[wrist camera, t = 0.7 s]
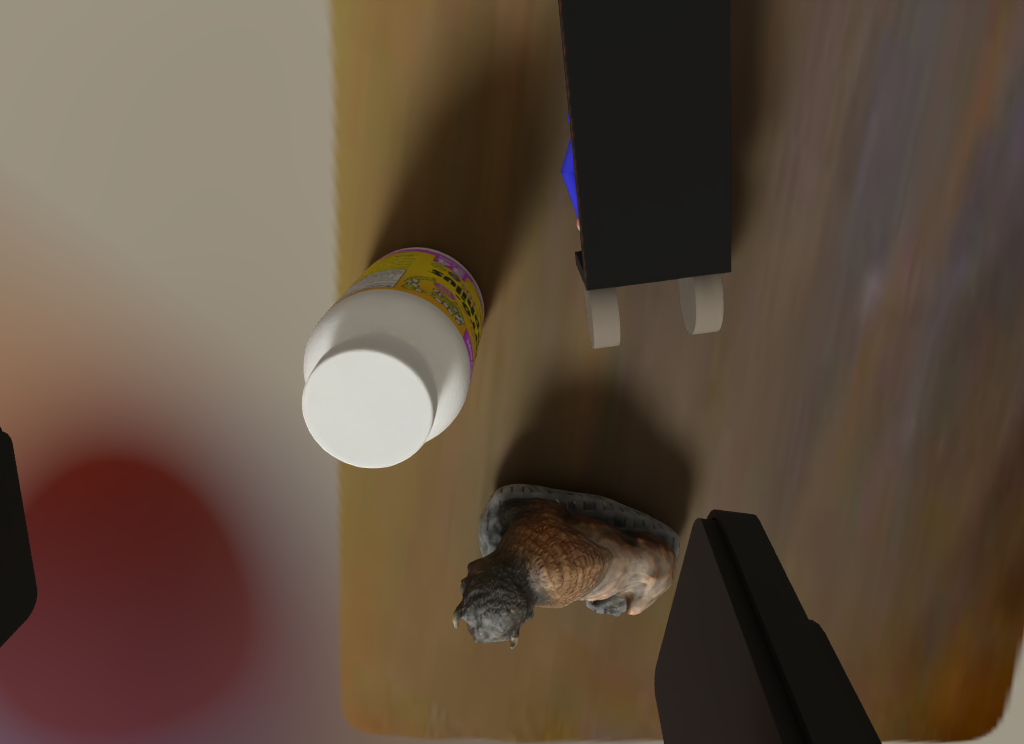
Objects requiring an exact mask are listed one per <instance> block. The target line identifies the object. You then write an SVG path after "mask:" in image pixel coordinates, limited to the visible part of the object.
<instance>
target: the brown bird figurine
mask: <svg viewBox="0 0 1024 744" xmlns="http://www.w3.org/2000/svg"><path fill="white" fill-rule="evenodd" d="M478 538H479V543H480V549H481V553H482V556H483V558H480V559H477V560H475V561H473V562H471V563H469V565H468V576H467V577H466V578H464V579H462V580H461V583H462V585H461V588H460V590H461V592H462V594H463V599H462V601H461V603H460V604H459V605H458V606H457V608H456V610H455V611H454V613H453V623H454V626H455V628H458V624H459V621H460V619H464V620H465V621H466V622H467V626H468V631H469V633H470V634H471V635H472V636H473V637H474V642H475V643H478V642H482V643H484V644H489V643H497V642H501V641H505V640H510V642H511V648H514V647H515V646H516V645H517V643H518V640H519V629H520V627H521V626H522V625H523V623H524V622H525V620H530V619H531V618H532V617H533V608H534V606H535V607H544V608H560V607H564V606H567V605H569V604H570V603H572V602H575V601H577V600H586V605H587V607H588V608H590V609H592V610H593V611H594V612H596V613H602V614H610V615H612V616H614V617H617V616H620V615H621V614H623V613H624V612H626V611H627V613H628V614H630V615H636V614H639V613H641V612H642V611H643V610H646V609H647V608H649V607H650V605H651V604H652V603H654V602H655V601H656V600H657V599H658V598H659V597H660V596H661V595H662V594H663V593H664V592H665V591H666V590H667V589H668V588H669V587H670V586H671V584H672V582H673V579H674V576H675V564H676V562H677V559H678V555H679V546H680V543H679V537H678V535H677V533H676V532H675V531H674V530H673V529H671V528H670V527H668V526H667V525H665V524H664V523H662V522H660V521H658V520H656V519H654V518H653V517H651V516H649V515H647V514H645V513H643V512H641V511H638V510H636V509H633V508H631V507H628V506H625V505H623V504H620V503H618V502H616V501H614V500H612V499H609V498H606V497H603V496H599V495H594V494H588V493H577V492H570V491H565V490H559V489H552V488H547V487H543V486H538V485H529V484H511V485H507V486H503V487H501V488H499V489H497V490H496V491H495V492H494V493H493V494H492V496H491V498H490V499H489V501H488V503H487V504H486V506H485V508H484V509H483V512H482V514H481V517H480V520H479V531H478Z"/></svg>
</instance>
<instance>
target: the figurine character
mask: <svg viewBox="0 0 1024 744" xmlns="http://www.w3.org/2000/svg"><path fill="white" fill-rule="evenodd" d="M558 4H559V15H560V26H561V36H562V47H563V58H564V68H565V79H566V90H567V100H568V111H569V113H568V122H569V124H570V132H571V139H570V142H569V146H568V149H567V152H566V156H565V159H564V162H563V166H562V169H561V173H562V176H563V178H564V181H565V184H566V187H567V189H568V192H569V195H570V198H571V201H572V203H573V206H574V209H575V212H576V215H577V217H578V219H577V227H578V229H579V231H580V238H581V249H582V251H578V252H575V257H576V265H577V267H578V270H579V272H580V275H581V277H582V280H583V282H584V294H585V304H586V313H587V321H588V328H589V334H590V339H591V344H592V347H593V349H595V348H603V347H611V346H619V344H620V320H619V309H618V300H617V293H616V287H620V286H627V285H635V284H643V283H650V282H658V281H666V280H673V279H679V295H680V304H681V310H682V315H683V319H684V323H685V326H686V329H687V331H688V333H689V334H691V335H692V334H700V333H708V332H716V331H719V330H720V328H721V325H722V320H723V289H722V281H721V275H720V273H727V272H731V124H730V0H558Z"/></svg>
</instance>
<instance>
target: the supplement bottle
mask: <svg viewBox="0 0 1024 744" xmlns="http://www.w3.org/2000/svg"><path fill="white" fill-rule="evenodd" d="M483 323H484V303H483V298H482V295H481V292H480V289H479V287H478V285H477V283H476V281H475V280H474V278H473V277H472V275H471V274H470V273H469V272H468V270H467V269H466V268H465V267H464V266H463V265H462V264H460V263H459V262H458V261H457V260H455V259H453V258H452V257H450V256H449V255H447V254H444V253H442V252H440V251H436V250H433V249H429V248H420V247H412V248H404V249H400V250H396V251H394V252H391V253H389V254H387V255H385V256H383V257H382V258H380V259H379V260H377V261H376V262H375V263H373V264H372V265H371V266H370V267H369V268H368V269H367V270H366V271H365V272H364V273H363V274H362V275H361V276H360V277H359V279H358V280H357V281H356V282H355V283H354V284H353V285H352V286H351V287H350V288H349V289H348V290H347V292H346V293H345V294H344V295H343V296H342V297H341V298H340V299H339V300H338V301H337V302H336V303H335V304H334V305H333V306H332V307H331V308H330V309H329V310H328V312H327V313H326V314H325V315H324V316H323V317H322V318H321V320H320V321H319V322H318V323H317V325H316V326H315V328H314V330H313V332H312V334H311V336H310V338H309V340H308V343H307V346H306V351H305V357H304V377H305V382H306V384H305V387H304V391H303V397H302V409H303V416H304V419H305V421H306V424H307V427H308V429H309V431H310V433H311V434H312V436H313V437H314V439H315V440H316V441H317V443H318V444H319V445H320V446H321V447H322V448H323V449H324V450H325V451H327V452H328V453H329V454H330V455H332V456H334V457H335V458H337V459H339V460H341V461H343V462H345V463H348V464H351V465H354V466H357V467H364V468H382V467H388V466H392V465H395V464H397V463H400V462H402V461H404V460H406V459H408V458H409V457H411V456H412V455H413V454H414V453H416V452H417V451H418V450H419V449H420V448H421V446H422V445H423V444H424V443H425V442H427V441H429V440H430V439H432V438H434V437H435V436H437V435H439V434H440V433H441V432H442V431H444V430H445V429H446V428H447V427H448V426H449V425H450V424H451V423H452V421H453V420H454V419H455V418H456V416H457V415H458V413H459V412H460V410H461V408H462V406H463V404H464V402H465V399H466V396H467V393H468V389H469V385H470V380H471V376H472V371H473V367H474V363H475V359H476V355H477V350H478V346H479V342H480V337H481V333H482V329H483Z"/></svg>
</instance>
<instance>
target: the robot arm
mask: <svg viewBox="0 0 1024 744" xmlns="http://www.w3.org/2000/svg"><path fill="white" fill-rule="evenodd" d="M36 599H37V587H36V580H35V574H34V568H33V562H32V556H31V550H30V544H29V538H28V532H27V526H26V520H25V514H24V508H23V502H22V497H21V491H20V486H19V479H18V473H17V467H16V461H15V455H14V449H13V444H12V440H11V438H10V437H9V435H8V434H7V433H5V432H2V429H1V427H0V647H1V646H2V645H3V644H4V643H5V642H6V641H7V640H8V639H9V638H10V637H11V636H12V635H13V633H14V632H15V631H16V630H17V629H18V628H19V627H20V626H21V625H22V624H23V623H24V622H25V621H26V620H27V618H28V617H29V616H30V614H31V612H32V611H33V609H34V606H35V603H36ZM654 685H655V697H656V702H657V707H658V713H659V718H660V723H661V729H662V734H663V740H664V744H882V743H881V741H880V739H879V737H878V735H877V733H876V732H875V730H874V728H873V726H872V724H871V722H870V720H869V718H868V716H867V714H866V712H865V710H864V708H863V706H862V704H861V702H860V700H859V698H858V696H857V694H856V693H855V691H854V689H853V687H852V685H851V683H850V681H849V679H848V677H847V675H846V673H845V671H844V669H843V667H842V665H841V663H840V661H839V659H838V657H837V655H836V654H835V652H834V650H833V648H832V646H831V644H830V642H829V640H828V638H827V636H826V634H825V632H824V631H823V630H822V628H821V627H820V625H819V624H818V623H816V622H814V621H813V620H809V619H808V617H807V615H806V613H805V611H804V609H803V607H802V605H801V603H800V601H799V599H798V597H797V595H796V593H795V591H794V589H793V587H792V585H791V583H790V581H789V579H788V577H787V575H786V573H785V571H784V569H783V567H782V565H781V563H780V561H779V559H778V557H777V555H776V553H775V551H774V549H773V547H772V545H771V543H770V541H769V539H768V537H767V535H766V533H765V531H764V529H763V527H762V525H761V523H760V521H759V519H758V518H757V516H756V515H753V514H747V513H739V512H731V511H723V510H715V509H714V510H712V511H711V512H710V514H709V515H708V518H707V519H701V518H698V519H696V520H695V522H694V524H693V527H692V531H691V534H690V538H689V542H688V546H687V550H686V554H685V557H684V561H683V565H682V569H681V573H680V577H679V580H678V584H677V588H676V592H675V596H674V599H673V603H672V607H671V611H670V615H669V619H668V622H667V626H666V630H665V634H664V638H663V641H662V645H661V649H660V653H659V657H658V661H657V664H656V669H655V682H654Z"/></svg>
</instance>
